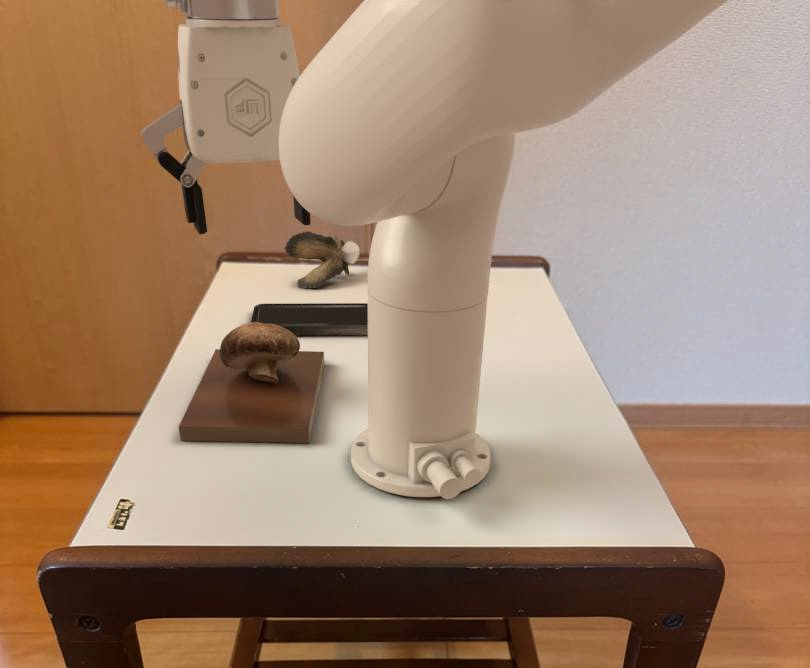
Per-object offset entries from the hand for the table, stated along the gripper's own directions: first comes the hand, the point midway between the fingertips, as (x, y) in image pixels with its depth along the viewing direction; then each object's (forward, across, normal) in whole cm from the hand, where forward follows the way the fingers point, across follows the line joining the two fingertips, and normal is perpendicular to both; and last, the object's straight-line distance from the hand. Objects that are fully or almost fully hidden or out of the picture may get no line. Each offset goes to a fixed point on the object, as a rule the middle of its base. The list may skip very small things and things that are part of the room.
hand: (252, 226), depth 74 cm
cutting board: (+16, -2, -2) cm, 17 cm away
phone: (+16, +10, +16) cm, 24 cm away
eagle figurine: (+16, +16, +32) cm, 39 cm away
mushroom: (+15, 0, 0) cm, 15 cm away
